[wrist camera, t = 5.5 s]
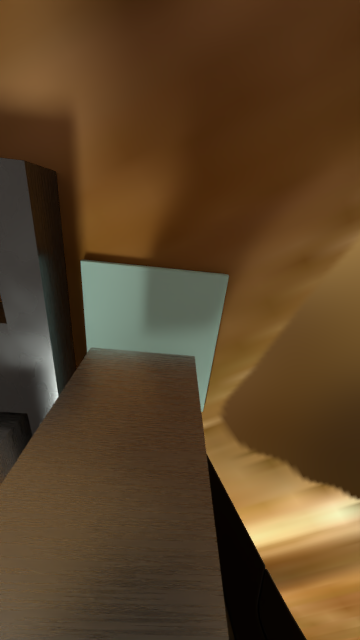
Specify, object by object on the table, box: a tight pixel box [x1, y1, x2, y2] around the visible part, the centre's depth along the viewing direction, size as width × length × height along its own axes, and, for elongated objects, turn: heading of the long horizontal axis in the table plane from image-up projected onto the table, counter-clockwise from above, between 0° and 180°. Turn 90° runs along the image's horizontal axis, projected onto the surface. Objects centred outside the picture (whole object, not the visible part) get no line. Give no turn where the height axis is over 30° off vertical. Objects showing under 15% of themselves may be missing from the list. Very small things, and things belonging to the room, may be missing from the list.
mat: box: [81, 260, 229, 412], centre depth 15 cm, size 10×8×1 cm
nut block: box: [0, 348, 229, 640], centre depth 7 cm, size 4×4×8 cm
